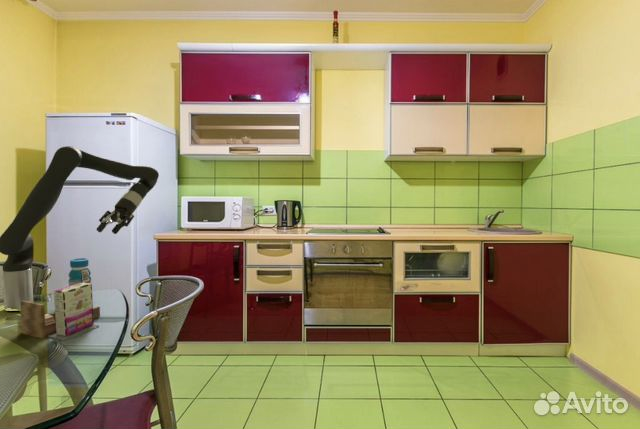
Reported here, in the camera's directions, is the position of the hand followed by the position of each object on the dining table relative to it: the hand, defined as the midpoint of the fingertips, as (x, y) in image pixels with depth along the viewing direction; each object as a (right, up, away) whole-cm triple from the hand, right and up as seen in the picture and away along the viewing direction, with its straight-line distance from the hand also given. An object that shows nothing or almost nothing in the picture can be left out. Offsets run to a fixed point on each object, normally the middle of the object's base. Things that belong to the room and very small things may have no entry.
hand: (105, 231), depth 141 cm
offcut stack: (-13, -36, -16) cm, 41 cm away
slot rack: (-10, -35, -9) cm, 38 cm away
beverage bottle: (-20, -33, +14) cm, 41 cm away
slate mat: (-2, -36, -15) cm, 39 cm away
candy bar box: (-2, -36, -15) cm, 39 cm away
